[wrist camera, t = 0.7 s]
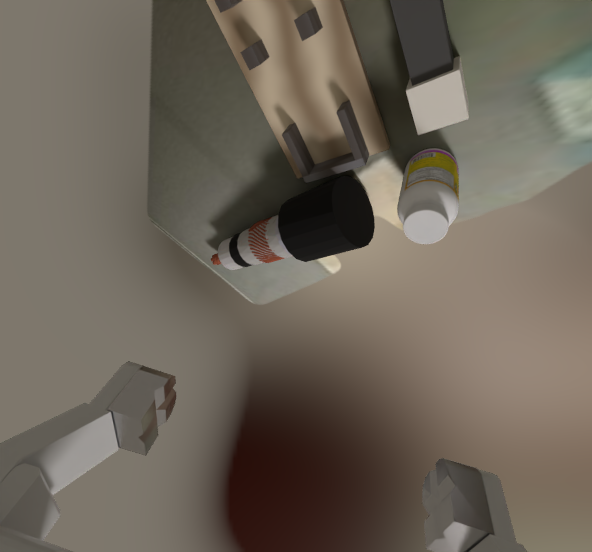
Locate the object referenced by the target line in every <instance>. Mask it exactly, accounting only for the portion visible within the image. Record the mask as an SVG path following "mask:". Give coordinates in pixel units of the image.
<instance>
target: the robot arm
mask: <svg viewBox="0 0 592 552" xmlns="http://www.w3.org/2000/svg"><path fill="white" fill-rule="evenodd" d="M175 384H176V380H175V376H173V375H170V374H167V373H164V372H161V371H158V370H154V369H151V368H148V367H145V366H143V365H139V364H136V363H133V362H130V361H128V362H126V363H125V364H123V365H122V366H121V367H120V368H119V370H118V371H117V372H116V373H115V374H114V375H113V377H112V378H111V379H110V380H109V381H108V383H107V384H106V385H105V386H104V387H103V388H102V390H101V391H100V392H99V393H98V394H97V395H96V397H95V398H94V399H93V400H92V401H91V402H90V404H86V403H83V404H81V405H79V406H77V407H75V408H73V409H71V410H69V411H67V412H65V413H62V414H60V415H58V416H56V417H54V418H52V419H50V420H48V421H46V422H44V423H42V424H40V425H37V426H35V427H33V428H31V429H29V430H27V431H25V432H23V433H21V434H19V435H17V436H14V437H12V438H10V439H8V440H6V441H4V442H2V443H0V552H72V551H70V550H67V549H64V548H61V547H59V546H56V545H53V544H51V543H48V542H45V541H43V540H44V538H45V537H46V535H47V534H48V532H49V531H50V529H51V528H52V527H53V525H54V524H55V522H56V521H57V519H58V518H59V517H60V510H59V508H58V506H57V504H56V501H55V499H54V497H53V494H55V493H57V492H58V491H59V490H61V489H62V488H64V487H65V486H66V485H68V484H70V483H71V482H72V481H74V480H75V479H77V478H78V477H80V476H81V475H83V474H84V473H85V472H87V471H88V470H90V469H91V468H93V467H94V466H96V465H97V464H98V463H100V462H101V461H103V460H104V459H106V458H107V457H109V456H110V455H111V454H112V453H114V452H116V451H117V450H118V449H119V448H122V449H125V450H129V451H132V452H135V453H139V454H142V455H147V453H148V451H149V450H150V448H151V446H152V445H153V443H154V441H155V440H156V438H157V436H158V426H160V425H162V424H163V423H165V422H166V421H167V420H168V418H169V416H170V415H171V413H172V410H173V408H174V405H175V400H176V392H175V390H174V389H173V387H174V385H175ZM118 447H119V448H118ZM422 498H423V505H424V507H425V509H426V511H427V512H428V514H429V516H428V517H427V519H426V520H425V522H424V526H425V539H426V549H428V550H431V551H433V552H527V551H526V549H525V548H524V546H523V545H521V544H519V543H517V542H516V538H515V535H514V531H513V527H512V524H511V519H510V516H509V512H508V508H507V504H506V501H505V497H504V493H503V489H502V486H501V482H500V479H499V478H498V476H497V475H495V474H493V473H490V472H486V471H483V470H479V469H477V468H474V467H470V466H467V465H464V464H461V463H457V462H454V461H450V460H447V459H439V460H438V461H437V463H436V470H433V471H430V472H429V473H428V474H427V476H426V477H425V481H424V484H423V492H422Z"/></svg>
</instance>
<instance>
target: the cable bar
mask: <svg viewBox="0 0 592 552" xmlns="http://www.w3.org/2000/svg"><path fill="white" fill-rule="evenodd" d="M390 3H391V7H392V11H393V15H394V18H395V22H396V26H397V30H398V34H399V37H400V41H401V45H402V49H403V53H404V56H405V60H406V64H407V68H408V72H409V75H410V79H409V82H408V85H407V88H406V94H407V97H408V101H409V105H410V108H411V112H412V115H413V119H414V123H415V126H416V130H417V134H418V135H420V134H423V133H427V132H430V131H433V130H436V129H439V128H442V127H445V126H448V125H451V124H454V123H457V122H460V121H464V120H467V119H469V108H468V98H467V92H466V87H465V81H464V76H463V70H462V65H461V59H460V56H458V57H456V58H454V57H453V52H452V46H451V41H450V36H449V31H448V26H447V20H446V15H445V10H444V5H443V0H390Z"/></svg>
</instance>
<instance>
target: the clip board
mask: <svg viewBox="0 0 592 552" xmlns="http://www.w3.org/2000/svg"><path fill="white" fill-rule="evenodd" d="M206 1H207V3H208V5H209V7H210V9H211V11H212V13H213V15H214V17H215V18H216V20H217V22H218V24H219V26H220V28H221V30H222V32H223V34H224V36H225V38H226V40H227V42H228V44H229V46H230V48H231V50H232V52H233V54H234V56H235V58H236V60H237V62H238V63H239V65H240V67H241V69H242V71H243V73H244V75H245V77H246V79H247V81H248V83H249V85H250V87H251V89H252V91H253V93H254V95H255V97H256V99H257V101H258V103H259V105H260V107H261V108H262V110H263V112H264V114H265V116H266V118H267V120H268V122H269V124H270V126H271V128H272V130H273V132H274V134H275V136H276V138H277V140H278V142H279V144H280V146H281V148H282V150H283V152H284V153H285V155H286V157H287V159H288V161H289V163H290V165H291V167H292V169H293V171H294V173H295V175H296V177H297V179H298V178H301V177H303V179H304V181H305V183H309V182H312V181H315V180H318V179H322V178H325V177H328V176H332V175H335V174H338V173H341V172H345V171H348V170H351V169H355V168H358V167H361V166H364V165H366V162H367V160H368V157H369V156H370V155H373V154H376V153H380V152H383V151H386V150H389V149H390V142H389V139H388V136H387V133H386V130H385V127H384V124H383V121H382V118H381V115H380V112H379V109H378V105H377V102H376V99H375V96H374V93H373V90H372V87H371V84H370V81H369V78H368V75H367V72H366V69H365V66H364V63H363V59H362V56H361V53H360V50H359V47H358V44H357V41H356V38H355V35H354V32H353V29H352V26H351V23H350V20H349V17H348V13H347V10H346V7H345V4H344V1H343V0H206Z"/></svg>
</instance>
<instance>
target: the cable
mask: <svg viewBox="0 0 592 552" xmlns="http://www.w3.org/2000/svg"><path fill="white" fill-rule="evenodd" d="M373 233H374V215H373V210H372V206H371V204H370V201H369V198H368V196H367V194H366V192H365V191H364V189H363V188H362V186H361V185H360V184H359V183H358V182H357V181H356V180H355V179H353V178H351V177H349V176H342V177H339V178H336V179H334V180H332V181H330V182H327V183H325V184H323V185H321V186H318V187H316V188H314V189H312V190H309V191H307V192H305V193H303V194H300V195H298V196H296V197H293V198H291V199H289V200H288V201H286V202H285V203H284V204H283V205H282V206H281V209H280V212H279V214H278V215H276V216H273V217H270V218H268V219H266V220H262V221H259V222H257V223H255V224H254V225H253V226H252V227H251V228H249V229H247V230H244V231H243V232H242V233H239V234H236V235H235V236H233V237H231V238H228V239H226V240H224V241H222V242H221V244H220V245H219V248H218V253H217V254H214V255H212V257H213V258H211V261H213V264H214V265H215V264H217V265H219V264H221V263H222V264H223V266H224V267H226V268H228V269H230V270H236V269H239V268H242V267H248V266H251V265H257V264H261V263H264V262H265V263H270V262H273V261H277V260H280V259H284V258H287V257H291V256H294V257H295V258H296V259H298V260H301V261H304V262H307V261H311V260H315V259H319V258H323V257H327V256H331V255H334V254H338V253H342V252H346V251H350V250H354V249H357V248H362V247H364V246H366V245H368V244H369V242H370V241H371V239H372V238H373Z"/></svg>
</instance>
